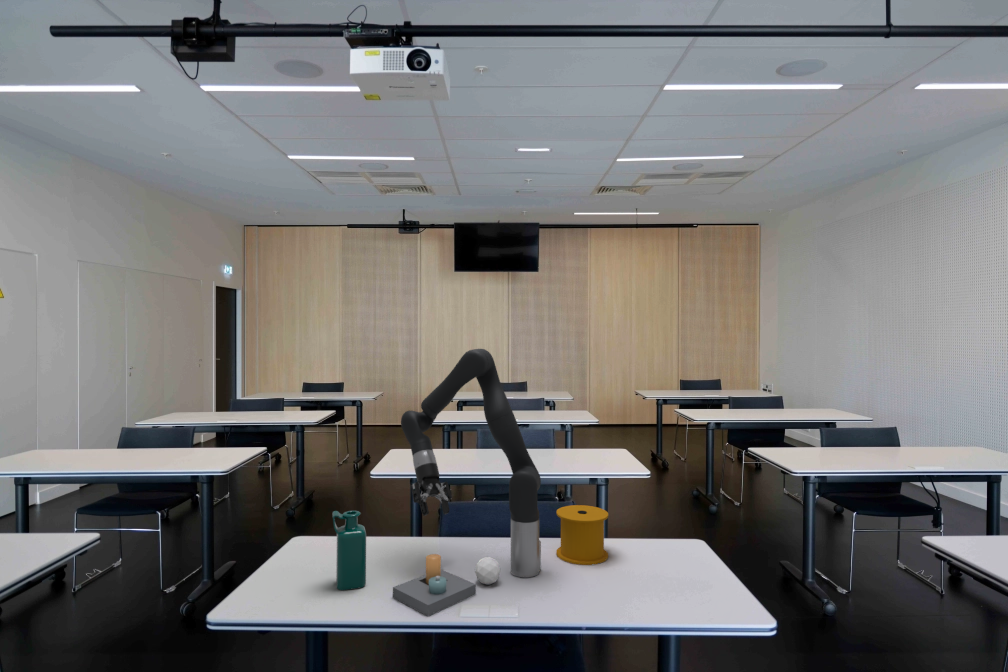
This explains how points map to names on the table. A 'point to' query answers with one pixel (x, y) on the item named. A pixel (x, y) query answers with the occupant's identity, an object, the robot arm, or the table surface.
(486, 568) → the ball
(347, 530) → the pitcher
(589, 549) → the spool
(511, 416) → the robot arm
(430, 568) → the orange capsule
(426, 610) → the block
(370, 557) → the table surface
